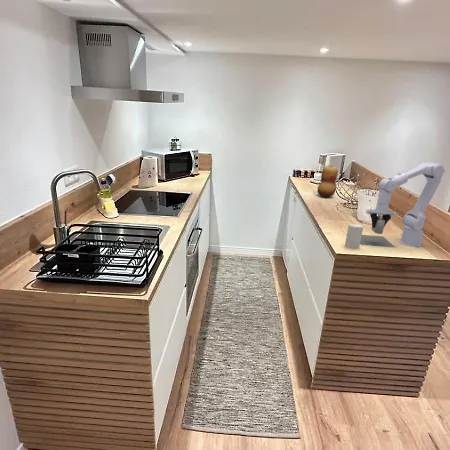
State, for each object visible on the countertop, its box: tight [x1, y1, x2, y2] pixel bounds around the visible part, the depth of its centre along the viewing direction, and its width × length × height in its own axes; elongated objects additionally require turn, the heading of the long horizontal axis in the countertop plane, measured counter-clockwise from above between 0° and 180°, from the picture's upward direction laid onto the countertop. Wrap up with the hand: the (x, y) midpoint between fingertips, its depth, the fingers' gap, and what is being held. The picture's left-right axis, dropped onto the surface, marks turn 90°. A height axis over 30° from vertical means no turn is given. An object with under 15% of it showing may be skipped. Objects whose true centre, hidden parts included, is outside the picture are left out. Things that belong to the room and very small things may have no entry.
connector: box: [370, 214, 386, 235], centre depth 181 cm, size 4×8×9 cm, turn 178°
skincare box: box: [344, 223, 364, 250], centre depth 176 cm, size 6×4×12 cm
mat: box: [360, 234, 396, 248], centre depth 189 cm, size 18×16×1 cm
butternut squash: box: [317, 164, 339, 198], centre depth 274 cm, size 14×13×25 cm
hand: (377, 227), depth 181 cm, fingers closed on connector, 4 cm apart
